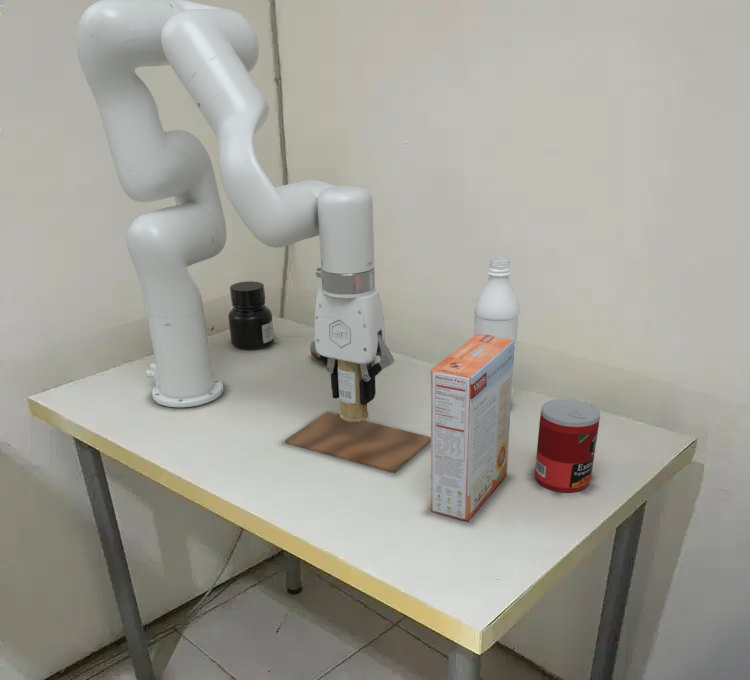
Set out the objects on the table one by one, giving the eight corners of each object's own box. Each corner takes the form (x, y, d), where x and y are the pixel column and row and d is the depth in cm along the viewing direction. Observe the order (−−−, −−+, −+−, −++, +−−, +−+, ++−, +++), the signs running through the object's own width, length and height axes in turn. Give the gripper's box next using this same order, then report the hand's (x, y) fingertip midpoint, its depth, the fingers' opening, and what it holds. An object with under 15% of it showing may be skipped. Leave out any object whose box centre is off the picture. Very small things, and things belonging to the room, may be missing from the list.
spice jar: (374, 418, 120) (371, 335, 113) (349, 426, 118) (345, 342, 111) (358, 408, 124) (355, 327, 117) (334, 415, 122) (329, 333, 114)
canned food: (579, 499, 106) (590, 427, 100) (525, 484, 110) (532, 414, 104) (597, 475, 112) (608, 405, 106) (545, 461, 115) (552, 393, 109)
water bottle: (464, 411, 131) (471, 262, 117) (476, 395, 136) (483, 251, 123) (506, 417, 128) (517, 266, 115) (516, 400, 134) (528, 254, 121)
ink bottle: (278, 348, 158) (272, 290, 152) (234, 353, 156) (227, 295, 150) (270, 333, 166) (264, 277, 160) (229, 338, 164) (222, 281, 158)
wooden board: (285, 442, 122) (284, 440, 122) (327, 414, 131) (327, 411, 131) (394, 473, 113) (394, 470, 113) (432, 440, 122) (432, 437, 122)
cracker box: (469, 467, 114) (476, 331, 103) (507, 476, 112) (518, 338, 101) (426, 511, 104) (428, 366, 93) (467, 523, 102) (474, 375, 91)
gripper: (285, 279, 111) (295, 397, 120) (386, 295, 103) (388, 419, 113) (314, 267, 116) (322, 380, 126) (413, 281, 109) (413, 400, 118)
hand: (353, 397), depth 119 cm, fingers closed on spice jar, 4 cm apart
